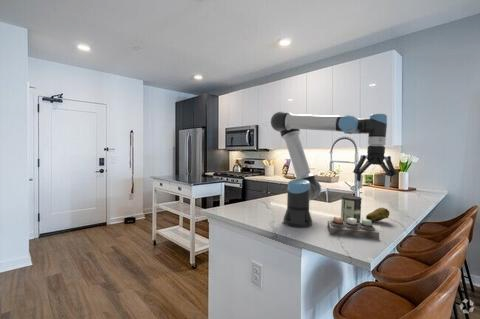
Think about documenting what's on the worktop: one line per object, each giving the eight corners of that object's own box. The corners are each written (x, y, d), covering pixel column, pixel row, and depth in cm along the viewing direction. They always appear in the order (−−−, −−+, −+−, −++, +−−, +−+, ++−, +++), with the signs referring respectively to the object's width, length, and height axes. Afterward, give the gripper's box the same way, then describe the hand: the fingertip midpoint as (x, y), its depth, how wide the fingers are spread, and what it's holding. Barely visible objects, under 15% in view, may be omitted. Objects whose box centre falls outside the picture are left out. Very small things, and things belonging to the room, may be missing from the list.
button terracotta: (333, 222, 118) (334, 218, 117) (332, 220, 122) (332, 216, 122) (343, 223, 116) (343, 219, 116) (341, 220, 121) (341, 217, 120)
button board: (330, 234, 114) (330, 225, 114) (327, 226, 126) (327, 218, 126) (378, 239, 109) (379, 230, 109) (371, 230, 121) (371, 222, 121)
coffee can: (357, 219, 139) (358, 195, 139) (362, 225, 129) (364, 199, 129) (338, 218, 141) (339, 194, 141) (342, 223, 131) (343, 198, 131)
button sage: (362, 225, 114) (362, 221, 114) (360, 222, 118) (360, 218, 118) (372, 226, 113) (372, 222, 113) (369, 223, 117) (370, 219, 117)
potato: (362, 218, 142) (363, 205, 141) (385, 220, 140) (386, 206, 139) (367, 223, 133) (368, 208, 133) (392, 224, 131) (393, 210, 131)
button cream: (348, 223, 116) (348, 219, 116) (346, 221, 120) (346, 217, 120) (357, 224, 115) (357, 220, 115) (355, 222, 119) (355, 218, 119)
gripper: (355, 144, 114) (352, 188, 115) (406, 146, 114) (403, 190, 115) (347, 144, 121) (345, 186, 122) (396, 146, 122) (393, 187, 123)
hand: (373, 188), depth 119 cm, fingers open, 13 cm apart
